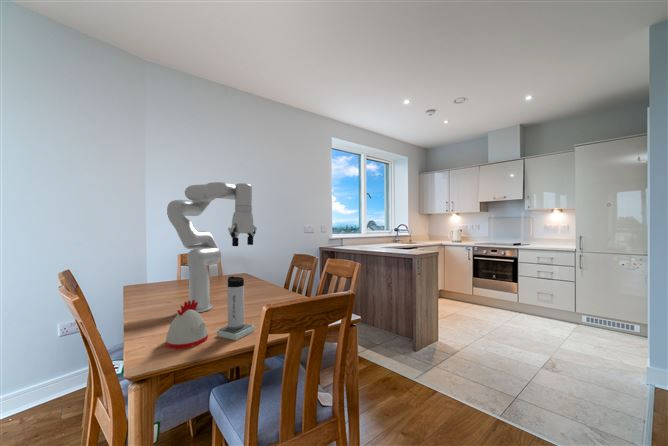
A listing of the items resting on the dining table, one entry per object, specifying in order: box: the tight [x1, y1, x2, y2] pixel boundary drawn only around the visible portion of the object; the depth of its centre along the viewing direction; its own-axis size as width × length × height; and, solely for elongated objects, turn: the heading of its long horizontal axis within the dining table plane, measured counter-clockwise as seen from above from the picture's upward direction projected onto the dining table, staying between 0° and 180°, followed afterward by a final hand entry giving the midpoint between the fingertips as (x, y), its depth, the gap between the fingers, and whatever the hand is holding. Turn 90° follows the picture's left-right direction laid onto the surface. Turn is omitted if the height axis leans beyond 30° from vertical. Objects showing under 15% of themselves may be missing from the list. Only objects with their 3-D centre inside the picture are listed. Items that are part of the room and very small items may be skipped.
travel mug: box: [227, 276, 245, 330], centre depth 112 cm, size 6×7×20 cm
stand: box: [216, 323, 255, 341], centre depth 112 cm, size 10×10×2 cm
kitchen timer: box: [165, 300, 209, 350], centre depth 105 cm, size 14×14×15 cm
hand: (243, 245), depth 132 cm, fingers open, 9 cm apart
